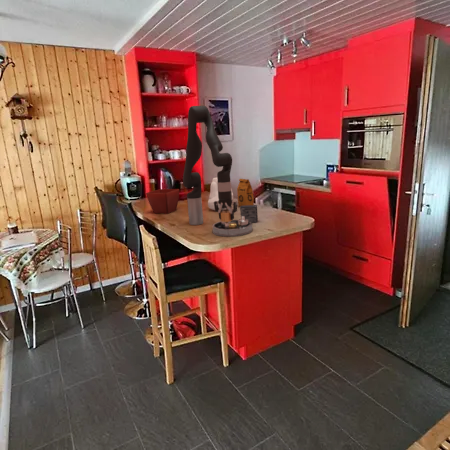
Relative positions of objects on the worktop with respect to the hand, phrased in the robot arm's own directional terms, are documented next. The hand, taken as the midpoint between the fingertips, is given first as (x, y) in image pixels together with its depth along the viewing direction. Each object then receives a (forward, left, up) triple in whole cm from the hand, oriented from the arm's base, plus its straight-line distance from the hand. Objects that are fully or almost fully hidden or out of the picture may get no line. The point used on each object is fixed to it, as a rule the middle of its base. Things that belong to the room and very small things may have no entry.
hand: (226, 219), depth 191 cm
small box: (-14, +26, -9) cm, 31 cm away
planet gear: (0, 0, -1) cm, 1 cm away
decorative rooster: (-58, +32, -9) cm, 67 cm away
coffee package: (-55, +53, -9) cm, 77 cm away
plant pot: (-89, -1, -9) cm, 90 cm away
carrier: (-3, +6, -9) cm, 11 cm away
